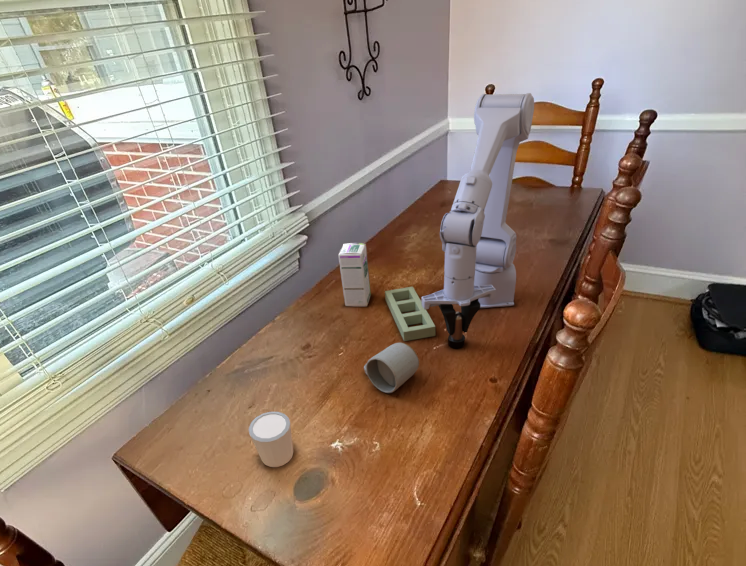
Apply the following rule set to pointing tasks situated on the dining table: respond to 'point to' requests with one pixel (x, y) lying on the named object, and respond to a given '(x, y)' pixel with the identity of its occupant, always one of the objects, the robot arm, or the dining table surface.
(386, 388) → the ceramic mug
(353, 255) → the syrup box
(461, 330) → the silver rounded cylinder
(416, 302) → the rack
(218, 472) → the dining table surface
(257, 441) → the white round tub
